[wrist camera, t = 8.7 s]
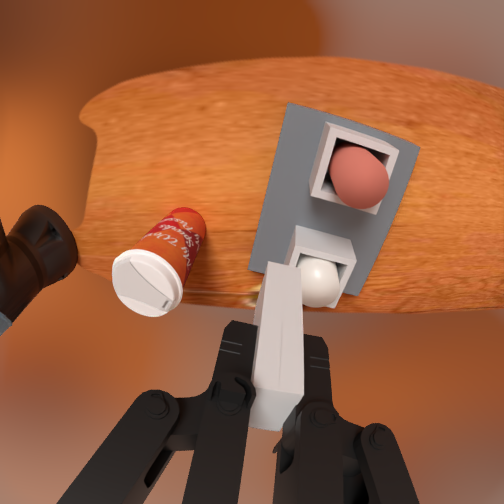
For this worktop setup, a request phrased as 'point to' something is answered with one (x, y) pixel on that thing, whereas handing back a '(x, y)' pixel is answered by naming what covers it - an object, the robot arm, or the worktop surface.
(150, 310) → the coffee cup
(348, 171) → the red plug
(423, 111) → the worktop surface
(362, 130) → the board
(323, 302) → the plug
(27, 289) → the robot arm
